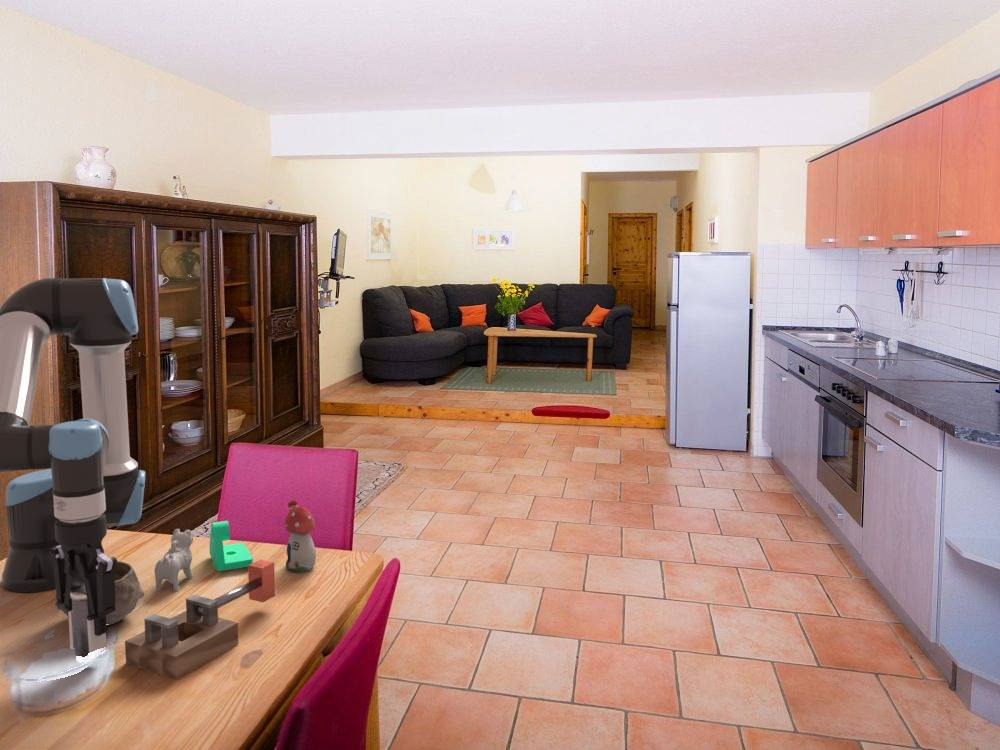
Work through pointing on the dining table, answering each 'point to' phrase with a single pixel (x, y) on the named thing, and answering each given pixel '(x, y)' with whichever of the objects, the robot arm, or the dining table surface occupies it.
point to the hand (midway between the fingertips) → (88, 647)
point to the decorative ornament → (300, 539)
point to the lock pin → (252, 585)
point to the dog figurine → (175, 560)
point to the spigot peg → (80, 620)
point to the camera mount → (227, 549)
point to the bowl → (121, 593)
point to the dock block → (182, 639)
